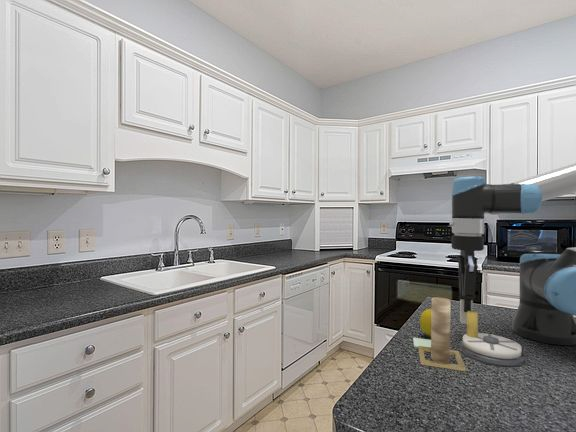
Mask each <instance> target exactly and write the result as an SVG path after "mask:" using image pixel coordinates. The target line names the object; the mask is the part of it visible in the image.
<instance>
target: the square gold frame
mask: <svg viewBox="0 0 576 432" xmlns="http://www.w3.org/2000/svg"><path fill="white" fill-rule="evenodd" d="M417 349H418V355H419V362H420V365H421V366H422V365H423V366H428V367H434V368H440V369H448V370H454V371H461V372H467V367H466V364H465V362H464V360H463V358H462V356H461V353H460V351H459V350H454V349H450V356H454V358H455V360H456V363H457V364H455V363H450V362H449V363H443V362H437V361H433V360H430V359H429V360H428V359H426V358H425V357H426V356H425V352H427V353H428V352H429V353H431V347H424V346H418V348H417Z"/></svg>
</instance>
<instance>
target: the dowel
mask: <svg viewBox="0 0 576 432" xmlns="http://www.w3.org/2000/svg"><path fill="white" fill-rule="evenodd" d="M451 306H452V305H451V299H449V298H447V297H438V296H436V297H432V298H431V337H430V340H431V352H430V359H431V361H437V362H443V363H450V362H451V355H450V350H451Z"/></svg>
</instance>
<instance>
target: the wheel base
mask: <svg viewBox="0 0 576 432" xmlns="http://www.w3.org/2000/svg"><path fill="white" fill-rule="evenodd" d="M460 352H462V353H463V354H464V356H465V355H466V357H468V358H470V359H473V360H475V361H476V362H477V361H478V362H480V363H484V364H487V365H492V366H497V367H507V368H508V367H509V368H510V367H513V368H515V367H520V366H522V365H524V363H525V354H524V353H523V352H522V351H521V356H520V357H519V358H515V359H500V358H494V357H489V356H485V355H481V354H478V353H476V352H473V351H471V350H469V349H467V348H466V347H465V346H464V345H463V340H462V341H460Z"/></svg>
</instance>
